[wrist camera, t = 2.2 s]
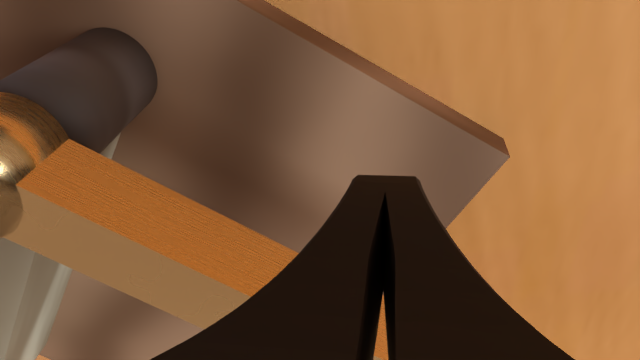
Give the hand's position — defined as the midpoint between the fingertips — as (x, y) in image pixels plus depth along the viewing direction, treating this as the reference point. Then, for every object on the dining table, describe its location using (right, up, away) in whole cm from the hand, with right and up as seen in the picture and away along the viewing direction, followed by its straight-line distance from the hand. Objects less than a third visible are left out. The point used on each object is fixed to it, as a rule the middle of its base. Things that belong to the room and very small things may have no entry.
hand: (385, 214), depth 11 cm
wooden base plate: (-7, -1, +10) cm, 12 cm away
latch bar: (-4, -1, +2) cm, 4 cm away
